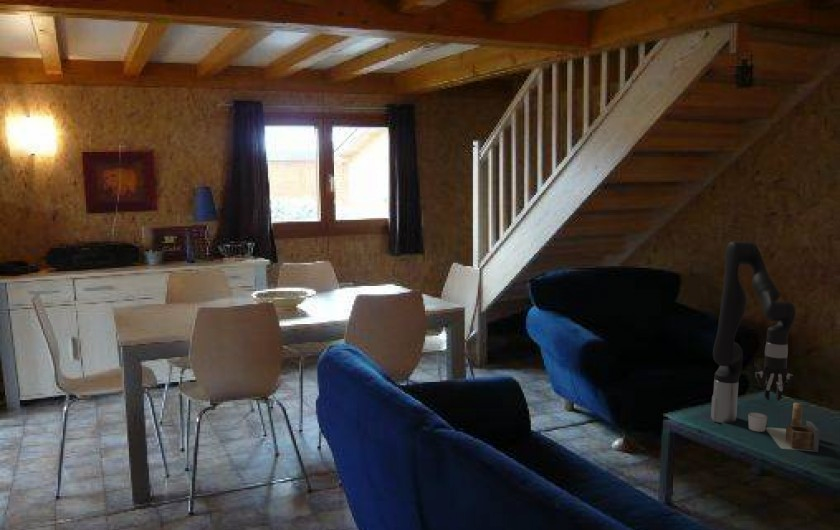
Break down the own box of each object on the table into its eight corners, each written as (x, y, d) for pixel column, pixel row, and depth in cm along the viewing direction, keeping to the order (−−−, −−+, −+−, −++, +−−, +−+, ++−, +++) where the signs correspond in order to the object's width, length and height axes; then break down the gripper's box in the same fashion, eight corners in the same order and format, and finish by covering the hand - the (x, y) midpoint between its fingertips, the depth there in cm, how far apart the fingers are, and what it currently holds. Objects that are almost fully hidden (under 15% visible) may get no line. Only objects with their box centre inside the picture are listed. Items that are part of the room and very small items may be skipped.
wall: (813, 451, 252) (815, 430, 251) (804, 441, 261) (806, 420, 260) (818, 451, 251) (819, 430, 250) (809, 441, 261) (810, 421, 260)
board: (780, 451, 254) (780, 448, 254) (763, 429, 276) (764, 427, 276) (817, 454, 251) (818, 451, 251) (797, 432, 274) (798, 429, 273)
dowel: (792, 434, 268) (795, 404, 266) (789, 431, 271) (792, 402, 270) (801, 435, 267) (804, 405, 266) (798, 432, 270) (801, 403, 269)
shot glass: (765, 436, 269) (766, 419, 269) (745, 432, 273) (747, 415, 272) (766, 431, 275) (768, 414, 274) (748, 427, 279) (749, 410, 278)
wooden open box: (791, 447, 254) (793, 432, 253) (785, 439, 262) (786, 424, 261) (812, 449, 252) (813, 433, 252) (805, 441, 260) (806, 426, 259)
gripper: (758, 356, 253) (754, 401, 255) (799, 358, 250) (796, 404, 252) (753, 351, 260) (749, 395, 262) (793, 353, 257) (790, 398, 259)
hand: (772, 399), depth 257 cm, fingers open, 3 cm apart
